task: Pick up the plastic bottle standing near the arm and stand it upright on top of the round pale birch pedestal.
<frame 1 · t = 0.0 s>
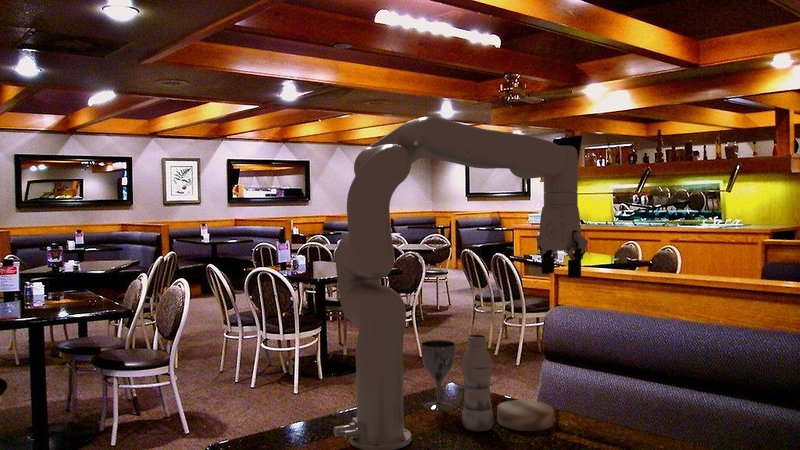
hand: (560, 275, 153), 31 cm above the table, fingers open, 9 cm apart
wine glass: (438, 407, 158), on the table
pedestal: (525, 421, 146), on the table
plastic bottle: (477, 430, 142), on the table
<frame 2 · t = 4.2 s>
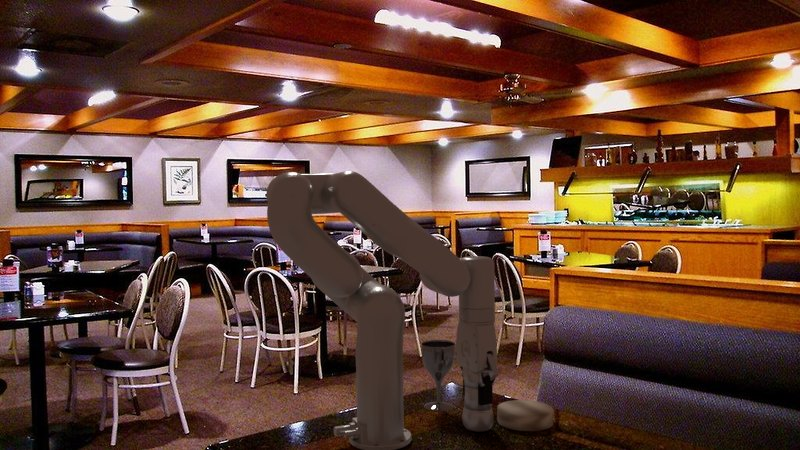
hand: (477, 399, 141), 7 cm above the table, fingers closed on plastic bottle, 5 cm apart
plastic bottle: (477, 430, 142), on the table, touching gripper
everything else where it was.
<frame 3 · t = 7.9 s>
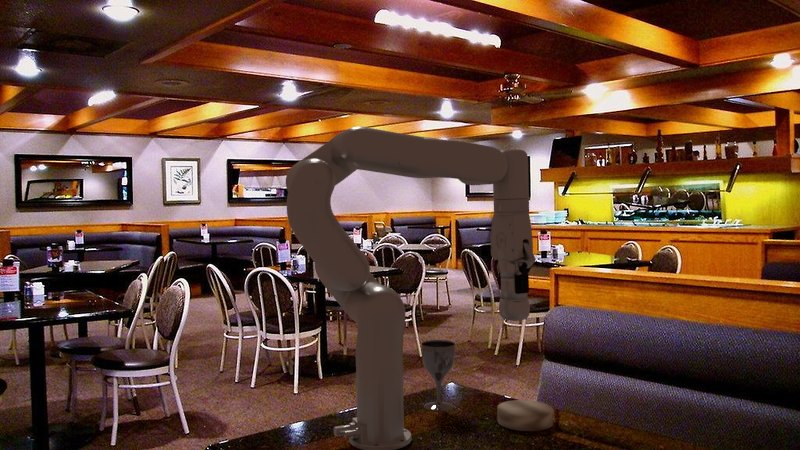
hand: (513, 290, 144), 29 cm above the table, fingers closed on plastic bottle, 5 cm apart
plastic bottle: (514, 321, 145), point 22 cm above the table, touching gripper
everything else where it was.
when the fingers open (11 cm above the table, at t = 11.8 s): plastic bottle drops 2 cm, resting on pedestal.
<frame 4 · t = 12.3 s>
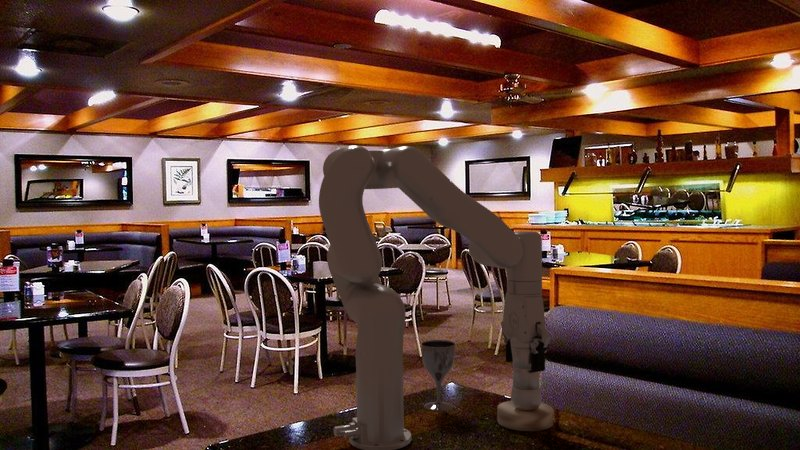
hand: (524, 366, 146), 12 cm above the table, fingers open, 9 cm apart
plastic bottle: (526, 409, 146), point 3 cm above the table, touching pedestal
everything else where it was.
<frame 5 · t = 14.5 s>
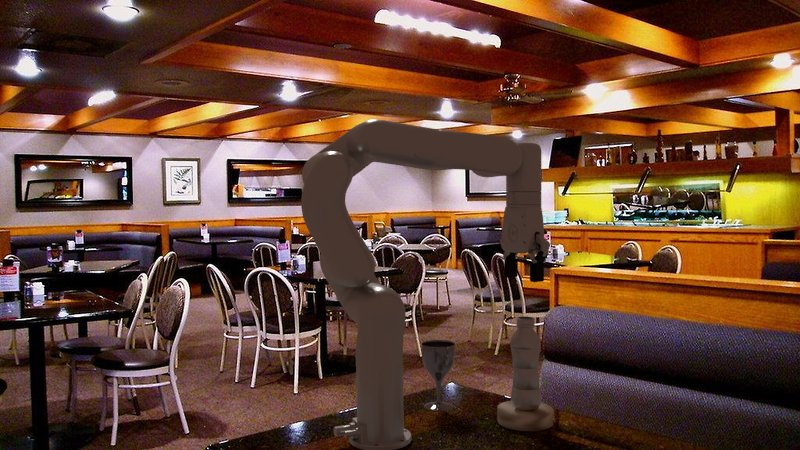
hand: (523, 279, 145), 31 cm above the table, fingers open, 9 cm apart
nothing on the table moved.
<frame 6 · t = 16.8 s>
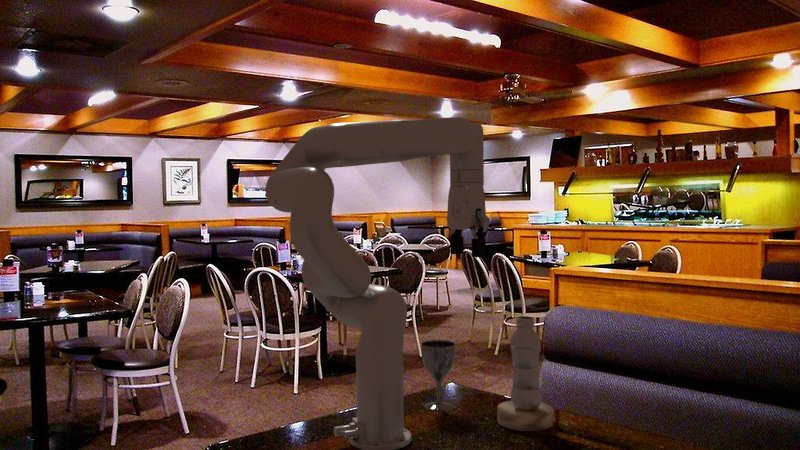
hand: (467, 255, 150), 36 cm above the table, fingers open, 9 cm apart
nothing on the table moved.
at the end: plastic bottle inside the target area on the pedestal (0.6 cm from its centre), point 2.8 cm above the pedestal's base; plastic bottle tilted 0°; the gripper is holding nothing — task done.
